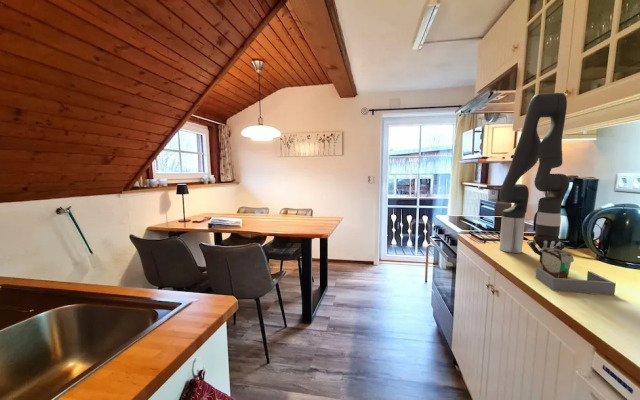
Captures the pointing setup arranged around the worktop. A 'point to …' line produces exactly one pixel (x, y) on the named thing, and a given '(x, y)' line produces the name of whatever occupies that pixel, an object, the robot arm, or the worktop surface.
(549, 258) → the food container
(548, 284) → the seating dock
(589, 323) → the worktop surface
